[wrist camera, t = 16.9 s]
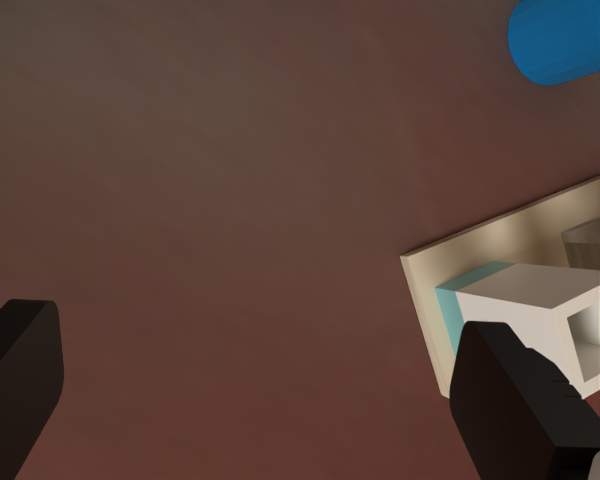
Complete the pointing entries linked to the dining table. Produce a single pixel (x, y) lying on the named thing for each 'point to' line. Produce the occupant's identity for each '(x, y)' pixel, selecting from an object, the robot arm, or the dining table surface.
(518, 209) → the peg socket fixture
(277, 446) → the dining table surface
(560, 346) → the sleeve
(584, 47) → the bottle
